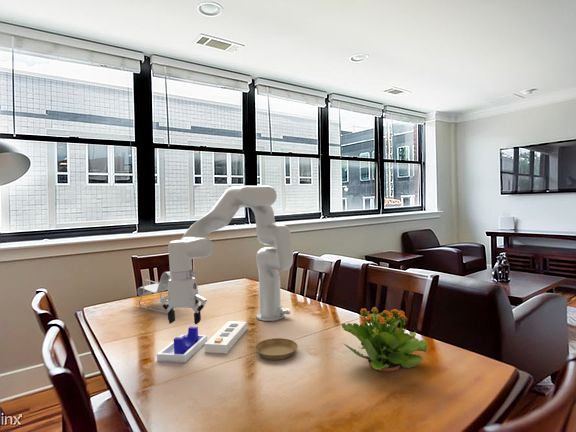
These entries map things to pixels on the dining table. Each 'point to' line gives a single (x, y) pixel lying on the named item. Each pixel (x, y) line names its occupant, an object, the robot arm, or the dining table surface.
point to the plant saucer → (276, 348)
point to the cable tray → (169, 355)
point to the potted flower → (386, 341)
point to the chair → (155, 288)
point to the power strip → (226, 337)
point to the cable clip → (186, 341)
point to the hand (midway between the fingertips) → (184, 322)
